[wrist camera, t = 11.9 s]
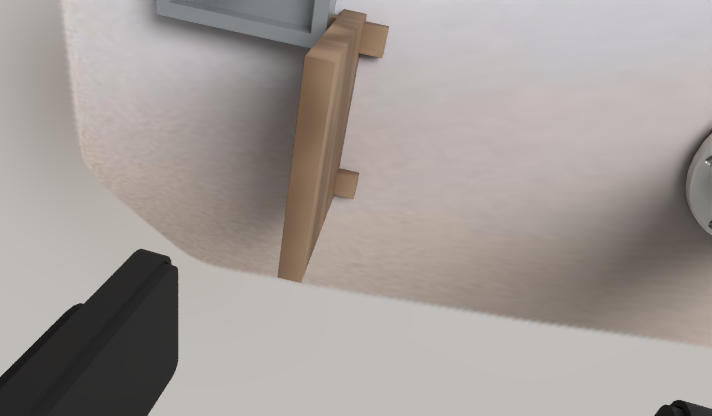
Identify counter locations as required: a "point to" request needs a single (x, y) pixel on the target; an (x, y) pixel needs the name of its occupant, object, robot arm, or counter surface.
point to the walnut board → (323, 134)
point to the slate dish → (258, 17)
